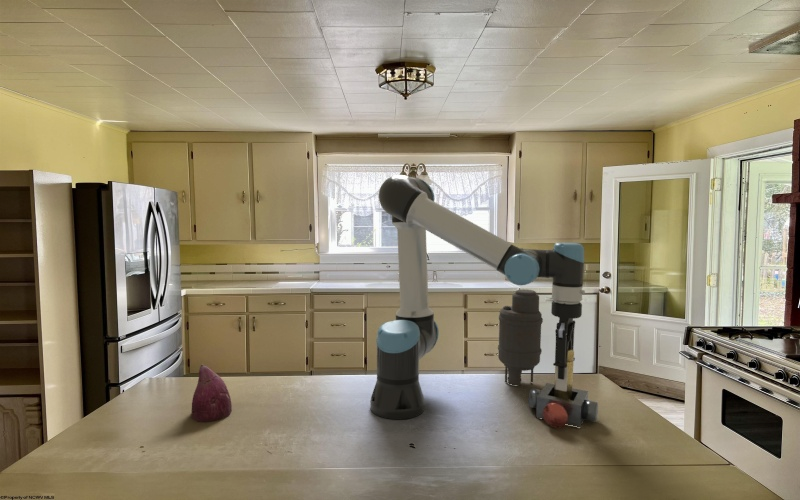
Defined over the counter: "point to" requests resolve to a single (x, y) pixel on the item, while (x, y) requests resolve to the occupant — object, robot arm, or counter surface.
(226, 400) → the vegetable
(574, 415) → the valve body
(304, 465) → the counter surface
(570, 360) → the fitting
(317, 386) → the counter surface
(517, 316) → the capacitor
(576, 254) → the robot arm
